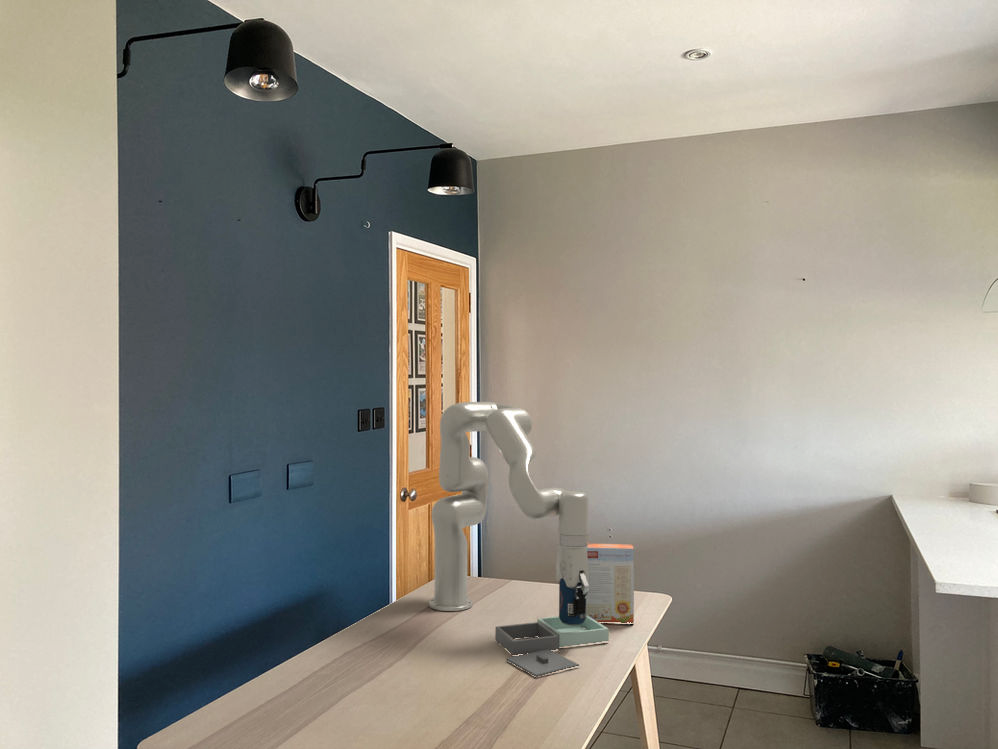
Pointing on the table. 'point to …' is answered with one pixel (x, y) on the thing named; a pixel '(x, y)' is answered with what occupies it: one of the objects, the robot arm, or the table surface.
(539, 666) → the lid
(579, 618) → the soda can
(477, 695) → the table surface
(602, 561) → the cracker box
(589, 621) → the bin
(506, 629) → the bin
